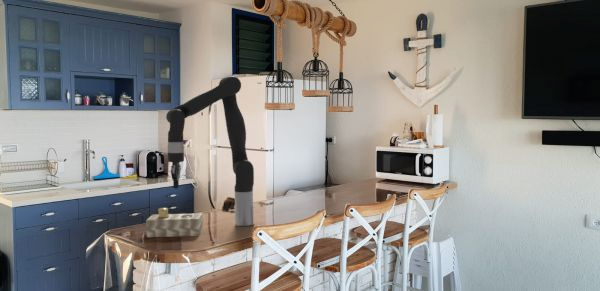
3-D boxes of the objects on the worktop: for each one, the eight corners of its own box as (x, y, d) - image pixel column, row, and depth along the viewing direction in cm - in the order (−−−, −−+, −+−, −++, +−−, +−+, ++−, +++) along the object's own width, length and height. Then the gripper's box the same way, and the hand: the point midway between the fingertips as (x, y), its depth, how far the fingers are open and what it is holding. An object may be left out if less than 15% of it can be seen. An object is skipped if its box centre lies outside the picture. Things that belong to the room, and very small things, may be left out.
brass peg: (169, 222, 230) (168, 207, 229) (167, 224, 226) (166, 209, 225) (159, 222, 230) (159, 207, 229) (157, 224, 225) (157, 209, 225)
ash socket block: (202, 229, 235) (202, 213, 234) (199, 235, 223) (198, 218, 222) (153, 230, 234) (152, 214, 233) (146, 237, 222) (146, 220, 221)
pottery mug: (218, 210, 283) (223, 197, 286) (232, 215, 286) (237, 202, 289) (225, 208, 273) (230, 194, 276) (240, 214, 276) (244, 200, 279)
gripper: (181, 152, 219) (181, 190, 220) (186, 150, 232) (186, 186, 233) (164, 152, 218) (165, 190, 220) (170, 150, 232) (170, 186, 233)
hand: (176, 188), depth 226 cm, fingers closed
